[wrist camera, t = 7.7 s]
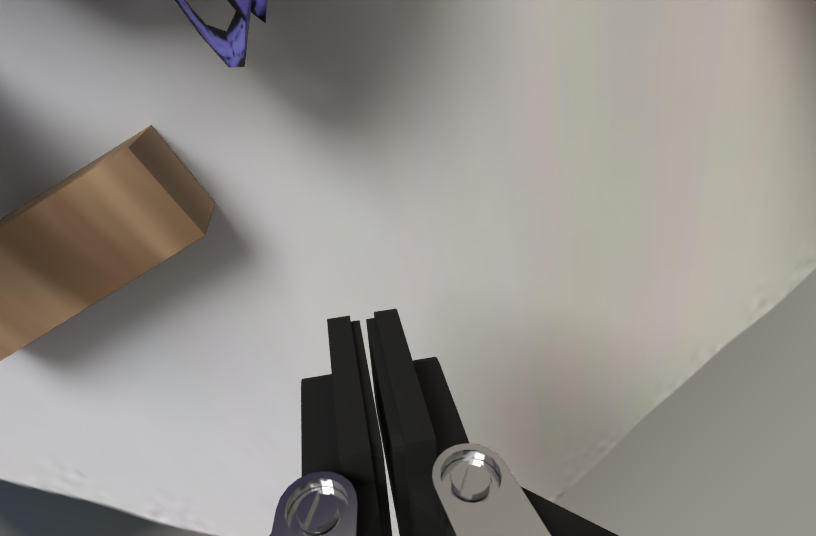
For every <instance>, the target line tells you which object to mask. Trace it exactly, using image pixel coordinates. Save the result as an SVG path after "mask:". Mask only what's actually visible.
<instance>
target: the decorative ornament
mask: <svg viewBox="0 0 816 536" xmlns="http://www.w3.org/2000/svg"><path fill="white" fill-rule="evenodd" d="M175 1H176V2H177V4H178V5H179V6H180V8H181V9H182V11H183V12H184V13H185V15H186V16H187V18H188V19H189V20H190V22H191V23H192V25H193V26H194V27H195V29H196V30H197V31H198V33H199V34H200V35H201V36H202V37H203V39H204V40H205V41H206V42H207V43H208V44H209V45H210V47H211V48H212V49H213V50H214V51H215V52H216V53H217V54H218V56H219V57H220V58H221V59H222V60H223V61H224V62H225V64H226V65H227V66H228V67H245V57H246V48H247V39H248V29H249V20H250V10H251V12H252V13H253V14H254V15H255V16H257V17H258V18H259V19H261V20H262V21H263V22H265V21H266V11H267V0H228V2H229V3H230V4H231V5H232V6H233V8H234V9H235V10H236V13H235V15H234V17H233V19H232V21H231V24H230V26H229V28H228V30H227V32H226V31H223V30H220V29H217V28H214V27H212V26H209V25H206V24H205V22H204V21H203V20H202V19H201V18H200V17H199V16H198V15H197V14H196V13H195V12H194V11H193V10H192V8H191V7H190V6H189V4H188V3H187V2H186V0H175Z"/></svg>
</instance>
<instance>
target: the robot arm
mask: <svg viewBox="0 0 816 536" xmlns="http://www.w3.org/2000/svg"><path fill="white" fill-rule="evenodd" d="M366 322H367V331H368V340H369V349H370V358H371V367H372V375H373V384H374V393H375V402H376V408H375V403H374V397H373V392H372V387H371V381H370V376H369V370H368V365H367V359H366V354H365V348H364V343H363V337H362V332H361V326H360V321H359V320H358V321H352V322H351V321H350V316H345V317H338V318H331V319H327V323H328V335H329V346H330V358H331V369H332V374H330V375H324V376H318V377H312V378H306V379H302V381H301V430H302V477H301V478H299V479H297V480H296V481H295V482H294V483H293V484H291V485H290V486H289V487H288V488H287V489H286V491H285V492H284V493H283V495H282V496H281V498H280V500H279V503H278V506H277V508H276V513H275V518H274V523H273V528H272V533H271V535H270V536H392V529H391V520H390V511H389V501H388V492H387V483H386V474H385V465H384V456H383V449H382V442H383V447H384V453H385V458H386V464H387V469H388V474H389V480H390V485H391V491H392V496H393V501H394V507H395V512H396V518H397V523H398V529H399V534H400V536H618V535H616V534H614V533H612V532H610V531H608V530H606V529H604V528H602V527H600V526H598V525H596V524H594V523H592V522H590V521H588V520H586V519H584V518H582V517H580V516H578V515H576V514H574V513H572V512H570V511H568V510H566V509H564V508H562V507H560V506H558V505H556V504H554V503H552V502H550V501H548V500H546V499H544V498H542V497H540V496H538V495H536V494H534V493H532V492H530V491H528V490H526V489H524V488H522V487H520V485H519V484H518V482H517V481H516V479H515V477H514V476H513V474H512V473H511V471H510V469H509V468H508V466H507V465H506V463H505V462H504V461H503V459H502V458H501V457H500V456H499V455H498V454H497V453H495V452H494V451H492V450H491V449H489V448H487V447H484V446H482V445H479V444H470V443H469V441H468V438H467V436H466V433H465V430H464V428H463V425H462V422H461V420H460V417H459V414H458V411H457V409H456V406H455V403H454V401H453V398H452V395H451V393H450V390H449V387H448V385H447V382H446V379H445V377H444V374H443V371H442V369H441V366H440V363H439V361H438V359H437V358H436V357H431V358H426V359H420V360H414V361H412V358H411V354H410V351H409V348H408V344H407V341H406V338H405V335H404V331H403V328H402V325H401V321H400V318H399V315H398V312H397V309H391V310H384V311H378V312H374V318H371V319H366ZM376 409H377V414H376ZM377 415H378V419H377ZM378 420H379V425H378ZM379 426H380V430H379ZM380 431H381V436H380ZM381 437H382V442H381Z"/></svg>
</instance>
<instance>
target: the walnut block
mask: <svg viewBox="0 0 816 536" xmlns="http://www.w3.org/2000/svg"><path fill="white" fill-rule="evenodd" d="M214 204H215V201H214V200H213V199H212V198H211V196H210V195H209V194H208V193H207V192H206V190H205V189H204V188H203V187H202V186H201V184H200V183H199V182H198V181H197V179H196V178H195V177H194V176H193V175H192V173H191V172H190V171H189V170H188V169H187V167H186V166H185V165H184V164H183V163H182V161H181V160H180V159H179V158H178V157H177V155H176V154H175V153H174V152H173V151H172V149H171V148H170V147H169V146H168V145H167V143H166V142H165V141H164V140H163V139H162V137H161V136H160V135H159V134H158V133H157V131H156V130H155V129H154V128H153V127H152V125H151V126H149V127H147V128H146V129H144V130H143V131H141V132H139V133H138V134H136V135H135V136H133V137H131V138H130V139H128V140H127V141H125V142H123V143H122V144H120V145H119V146H117V147H115V148H114V149H112V150H111V151H109V152H108V153H106V154H104V155H103V156H101V157H100V158H98V159H96V160H95V161H93V162H92V163H90V164H88V165H87V166H85V167H84V168H82V169H80V170H79V171H77V172H76V173H74V174H72V175H71V176H69V177H68V178H66V179H64V180H63V181H61V182H60V183H58V184H57V185H55V186H53V187H52V188H50V189H49V190H47V191H45V192H44V193H42V194H41V195H39V196H37V197H36V198H34V199H33V200H31V201H29V202H28V203H26V204H25V205H23V206H21V207H20V208H18V209H17V210H15V211H13V212H12V213H10V214H9V215H7V216H6V217H4V218H2V219H1V220H0V361H1V360H3V359H4V358H6V357H7V356H9V355H11V354H12V353H14V352H16V351H17V350H19V349H21V348H22V347H24V346H25V345H27V344H29V343H30V342H32V341H34V340H35V339H37V338H38V337H40V336H42V335H43V334H45V333H47V332H48V331H50V330H52V329H53V328H55V327H56V326H58V325H60V324H61V323H63V322H65V321H66V320H68V319H69V318H71V317H73V316H74V315H76V314H78V313H79V312H81V311H83V310H84V309H86V308H87V307H89V306H91V305H92V304H94V303H96V302H97V301H99V300H100V299H102V298H104V297H105V296H107V295H109V294H110V293H112V292H114V291H115V290H117V289H118V288H120V287H122V286H123V285H125V284H127V283H128V282H130V281H131V280H133V279H135V278H136V277H138V276H140V275H141V274H143V273H145V272H146V271H148V270H149V269H151V268H153V267H154V266H156V265H158V264H159V263H161V262H163V261H164V260H166V259H167V258H169V257H171V256H172V255H174V254H176V253H177V252H179V251H180V250H182V249H184V248H185V247H187V246H189V245H190V244H192V243H194V242H195V241H197V240H198V239H200V238H202V237H203V236H205V234H206V231H207V228H208V224H209V221H210V218H211V214H212V211H213V208H214Z"/></svg>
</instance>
